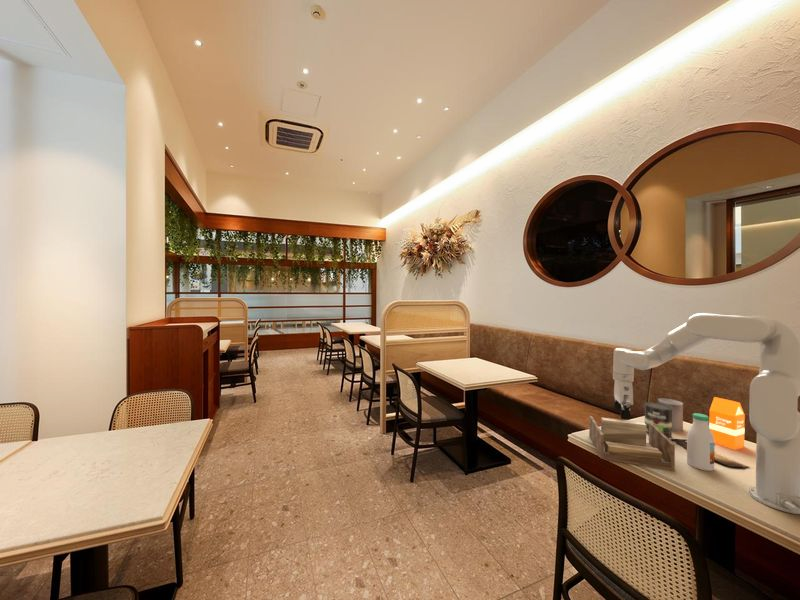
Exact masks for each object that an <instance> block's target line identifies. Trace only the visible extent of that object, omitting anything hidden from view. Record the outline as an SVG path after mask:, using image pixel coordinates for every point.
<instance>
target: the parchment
mask: <svg viewBox="0 0 800 600" xmlns="http://www.w3.org/2000/svg"><path fill="white" fill-rule="evenodd" d="M670 441H671V442H674V444H676V445H679V446H680V447H683V449H685V450H687V438H686V439H681V438H671V439H670ZM715 461H716V462H718V463H720V464H723V465H725V466H727V467H728V468H732V467H735V468H736V467H738V468H739V467H740V468H742V469H744V470H746V468H749V466H748V465H746V464H744V463H741V462H739V461H736V460H735V459H733V458H731V457H727V456H725V455H723V454H721V453H718V452H716V451H715V455H714V462H715Z"/></svg>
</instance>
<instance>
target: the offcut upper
mask: <svg viewBox="0 0 800 600" xmlns="http://www.w3.org/2000/svg"><path fill="white" fill-rule="evenodd" d="M605 447H606V448H607V450H608V451H611V452H618V453H626V454H633V455H640V456H648V457H655V458H662V453H661V452H660V451H659V450H658V449H657V448H652V447H645V446H637V445H629V444H621V443H613V442H606V441H605Z"/></svg>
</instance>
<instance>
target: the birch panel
mask: <svg viewBox="0 0 800 600" xmlns="http://www.w3.org/2000/svg"><path fill="white" fill-rule="evenodd" d="M600 430H601V432H602V433H603V435H604V441H609V442H616V443H624V444H631V445H638V446H645V447H646V443H647V434H646V424H645V421H644V422H643V421H635V420H634V421H633V420H626V419H619V418H618V419H617V418H610V417H601V418H600Z"/></svg>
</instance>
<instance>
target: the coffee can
mask: <svg viewBox="0 0 800 600" xmlns="http://www.w3.org/2000/svg"><path fill="white" fill-rule="evenodd" d="M672 410H673V409H672V407H670V406H667V405H664V404H660V403H658V402H645V403H644V423H645V424H646V436H649V423H652V424H653V425H654V426H655V427H656V428H658V429H659V430H660V431H661V432H662V433H663V434H664V435H665V436H666V437H667V438H668V439H669V440H671V439H673V436H672V435H673V434H672V433H673V431H672Z"/></svg>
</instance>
